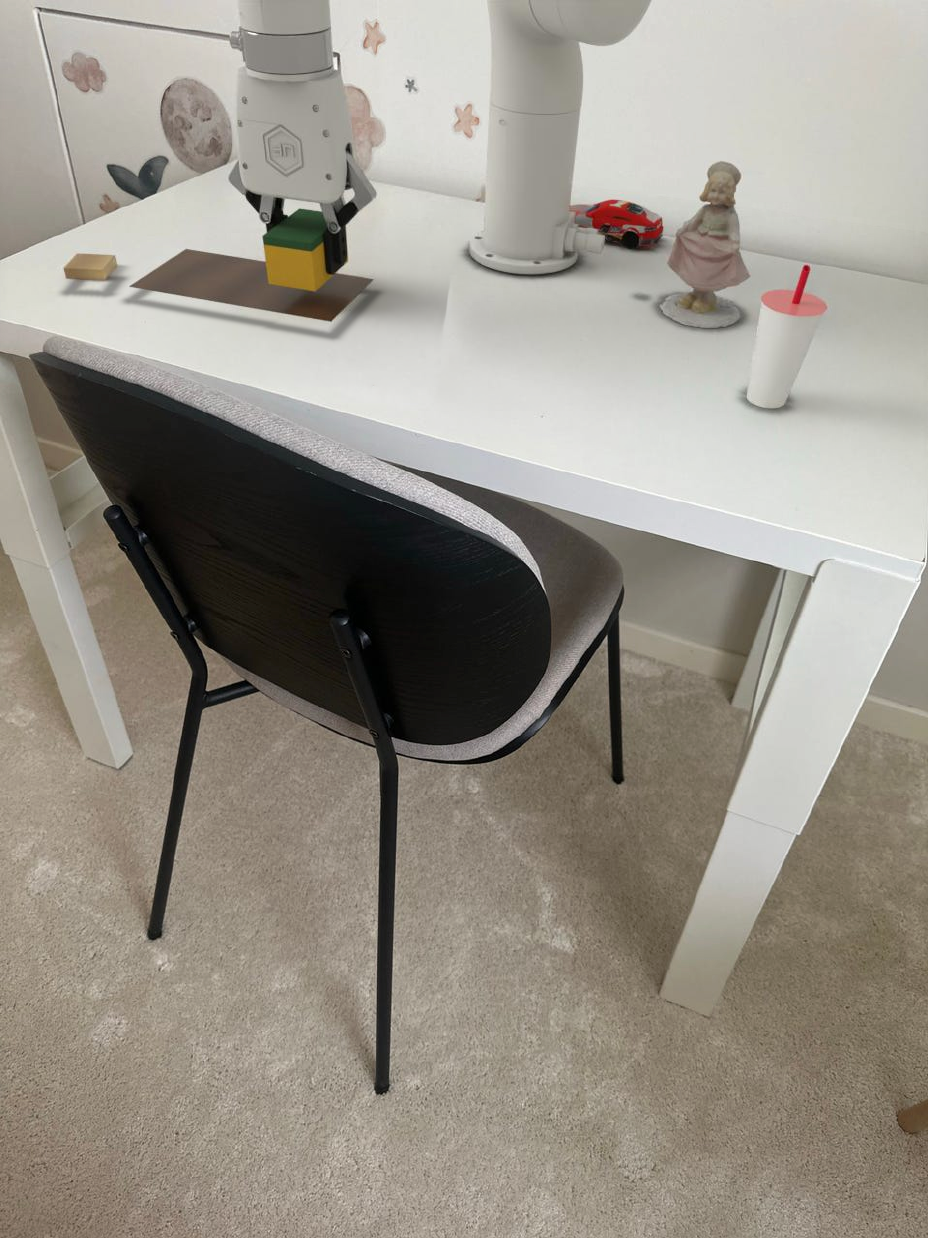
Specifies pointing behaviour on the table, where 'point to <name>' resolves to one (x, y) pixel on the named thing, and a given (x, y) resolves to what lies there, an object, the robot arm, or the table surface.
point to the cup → (782, 342)
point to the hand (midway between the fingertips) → (309, 263)
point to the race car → (620, 222)
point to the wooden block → (90, 266)
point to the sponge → (297, 251)
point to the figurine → (709, 255)
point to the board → (248, 285)
